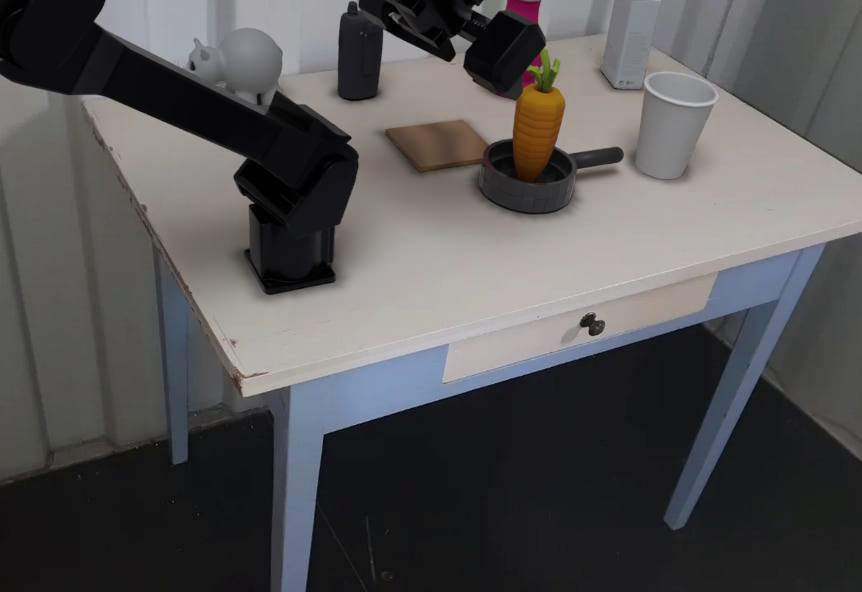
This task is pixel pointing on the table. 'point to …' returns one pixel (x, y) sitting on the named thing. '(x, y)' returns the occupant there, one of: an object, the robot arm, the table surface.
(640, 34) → the cosmetic box
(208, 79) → the toy rhinoceros
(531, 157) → the carrot
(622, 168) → the table surface
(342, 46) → the two-way radio
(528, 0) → the pepper mill
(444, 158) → the wooden board
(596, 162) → the pan handle
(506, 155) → the pan
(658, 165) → the dixie cup
